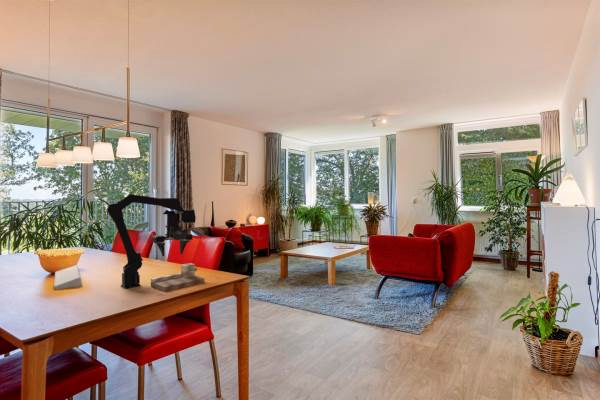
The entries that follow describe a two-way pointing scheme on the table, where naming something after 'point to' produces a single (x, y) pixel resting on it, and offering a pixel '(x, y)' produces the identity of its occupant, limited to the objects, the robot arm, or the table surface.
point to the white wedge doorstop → (67, 278)
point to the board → (174, 282)
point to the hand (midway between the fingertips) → (172, 255)
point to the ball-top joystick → (188, 270)
